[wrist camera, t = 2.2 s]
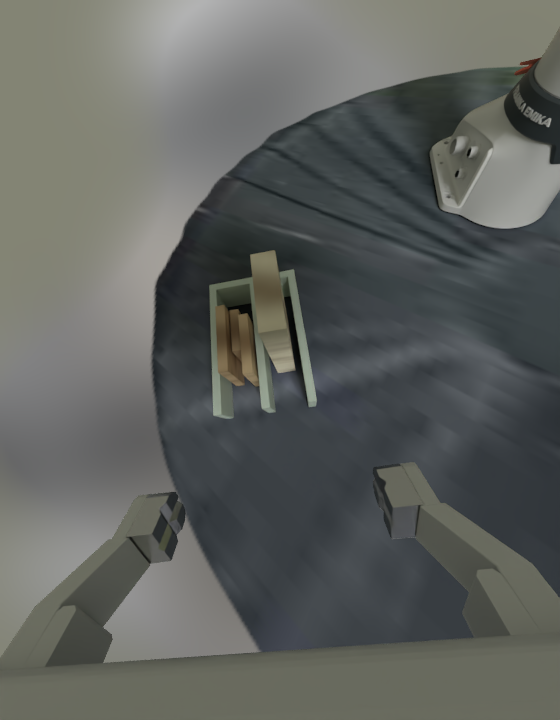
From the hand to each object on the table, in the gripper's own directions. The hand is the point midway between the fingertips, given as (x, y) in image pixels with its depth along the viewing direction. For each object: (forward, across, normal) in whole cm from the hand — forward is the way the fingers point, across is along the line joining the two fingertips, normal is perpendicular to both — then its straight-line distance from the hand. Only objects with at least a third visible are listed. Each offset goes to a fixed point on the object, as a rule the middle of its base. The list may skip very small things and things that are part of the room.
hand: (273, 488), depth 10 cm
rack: (+26, +3, +5) cm, 27 cm away
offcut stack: (+26, +6, +5) cm, 28 cm away
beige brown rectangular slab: (+27, 0, +5) cm, 28 cm away
